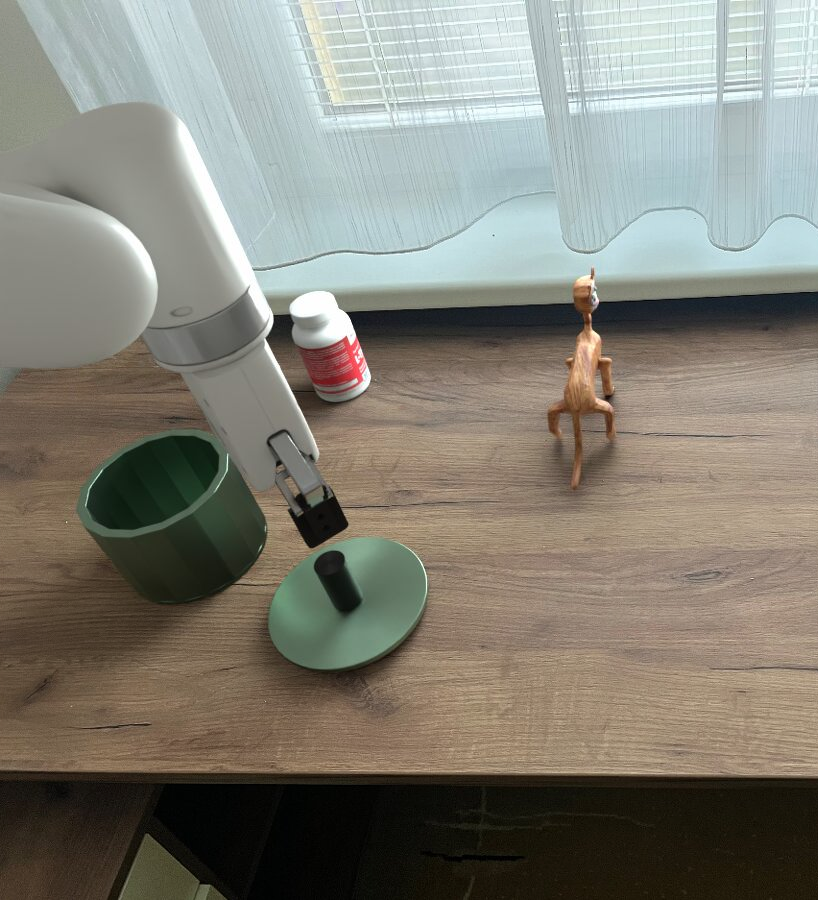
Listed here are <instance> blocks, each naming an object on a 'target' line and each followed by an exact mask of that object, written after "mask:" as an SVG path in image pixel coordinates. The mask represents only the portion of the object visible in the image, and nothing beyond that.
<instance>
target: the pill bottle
mask: <svg viewBox="0 0 818 900" xmlns="http://www.w3.org/2000/svg"><path fill="white" fill-rule="evenodd" d="M288 311H289V312H288V313H289V315H290V317H291V320H292V322H293V326H292V328H291V329H292V330H291V337H292V339H293V342H294V344H295V347H296V349H297V351H298V353H299V356H300V358H301V360H302V362H303V366H304V367H305V370H306V372H307V374H308V376H309V379H310V381H311V384H312V386H313V388H314V390H315V392H316V394H317V396H318V397H320V398H321V399H322V400H324V401H327V402H332V403H338V402H339V403H340V402H346V401H349V400H352V399H354V398H357V397H358V396H359V395H361V394H362V393H364V391H366V390H367V388H368V387H369V385H370V383H371V373H370V369H369V367H368V364H367V361H366V358H365V355H364V353H363V351H362V348H361V345H360V342H359V339H358V337H357V334H356V331H355V329H354V326H353V324H352V323H353V322H352V321H351V319H350V317H349V315H348V314H347V313H346V312H345V311H343V310H342V309H339V306H338V303H337V301H336V299H335V296H334V295H333V294H332V293H331V292H328V291H323V290H317V291H309V292H307V293H304V294H302V295H300V296H298V297H296V298H294V300H293V301H292V302H291V303H290V305H289V307H288Z"/></svg>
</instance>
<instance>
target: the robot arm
mask: <svg viewBox="0 0 818 900" xmlns="http://www.w3.org/2000/svg"><path fill="white" fill-rule="evenodd" d="M273 324H274V314H273V311H272V309H271V307H270V305H269V302H268V301H267V299H266V296H265V295H264V292H263V289H262V288H261V285H260V283H259V281H258V279H257V277H256V275H255V272H254V270H253V268H252V265H251V263H250V261H249V259H248V257H247V254H246V253H245V250H244V248H243V246H242V244H241V242H240V239H239V237H238V235H237V232H236V230H235V228H234V226H233V224H232V222H231V220H230V217H229V215H228V213H227V211H226V208H225V207H224V205H223V202H222V200H221V198H220V195H219V194H218V191H217V189H216V187H215V185H214V183H213V180H212V178H211V176H210V174H209V172H208V170H207V168H206V165H205V162H204V160H203V158H202V156H201V154H200V152H199V150H198V148H197V145H196V143H195V141H194V139H193V137H192V135H191V134H190V131H189V130H188V128H187V126H186V124H185V123H184V122H183V120H181V118H179V116H177V114H175V112H173V111H171V110H170V109H168V108H167V107H165V106H163V105H160V104H156V103H152V102H147V101H129V102H128V101H127V102H119V103H113V104H112V103H111V104H108V105H103V106H100V107H98V108H97V107H96V108H93V109H90V110H87V111H85V112H83V113H79V114H77V115H75V116H74V117H72V118H69V119H68V120H66V121H64V122H63V123H61V124H60V125H58V126H57V127H55V128H54V129H53V130H52V131H51V132H50V133H49V134H48V135H47V136H46V137H44V138H40V139H38V140H35V141H32V142H29V143H26V144H23V145H19V146H17V147H14V148H9V149H7V150H4V151H0V369H34V370H36V369H37V370H38V369H39V370H40V369H41V370H56V369H57V370H58V369H70V368H77V367H82V366H86V365H91V364H95V363H99V362H101V361H104V360H106V359H108V358H111V357H113V356H115V355H116V354H119V353H121V352H122V351H123V350H125V349H127V348H128V347H130V345H131V344H132V343H134V342H135V341H136V340H137V339H138V338H140V339H141V340H142V342H143V344H144V345H145V347H146V348H147V351H148V352H149V353H150V355H151V356H152V358H153V360H154V362H155V363H156V364H157V365H158V366H159V367H160V368H162V369H164V370H168V371H169V372H173V373H179V374H180V375H181V377H182V380H183V381H184V382H185V385H186V386H187V388H188V390H189V391H190V393H191V395H192V397H193V399H194V400H195V402H196V405H198V407H199V409H200V411H201V413H202V414H203V416H204V418H205V419H206V421H207V423H208V425H209V427H210V429H211V431H212V432H213V435H214V436H216V437H217V439H218V440H219V442H220V443H221V445H222V446H223V448H224V449H225V451H226V452H227V454H228V455H229V456H230V458H231V459H232V461H233V462H234V464H235V465H236V466H237V468H238V470H239V472H240V473H241V475H242V477H243V479H244V480H245V481H246V483H248V484H249V486H250V487H251V488H252V489H253V490H255V491H257V492H260V493H265V492H267V491H268V490H269V489H272V488H273V487H275V486H277V488H278V490H279V491H280V493H281V494H282V496H283V498H284V499H285V501H286V502H287V504H288V506H289V507H290V508H288V509H287V510H286V511H287V512H288V514H289V516H290V518H291V519H292V522H293V523H294V525H295V527H296V529H297V531H298V532H299V535H300V536H301V538H302V540H303V542H304V543H305V544H306V546H307V547H308V548H309V549H314V548H316V547H318V546H320V545H322V544H323V543H325V542H327V541H328V540H330V539H332V538H334V537H335V536H337V535H338V534H340V533H342V532H344V531H346V530H347V529H348V527H349V521H348V519H347V517H346V515H345V513H344V511H343V509H342V506H341V504H340V502H339V500H338V498H337V497H336V494H335V492H334V490H333V488H332V487H331V486H330V485H329V484H327V482H326V480H325V479H324V477H323V475H322V473H321V472H320V470H319V469H318V467H317V465H316V464H317V463H318V460H319V457H320V451H319V448H318V445H317V443H316V440H315V438H314V436H313V434H312V432H311V428H310V426H309V425H308V422H307V420H306V418H305V416H304V414H303V412H302V410H301V408H300V406H299V403H298V401H297V399H296V397H295V395H294V393H293V391H292V389H291V387H290V385H289V383H288V381H287V379H286V377H285V375H284V373H283V371H282V368H281V366H280V364H279V363H278V361H277V358H276V357H275V355H274V353H273V351H272V349H271V346H270V345H269V343H268V341H267V339H266V338H267V337H268V336H269V334H270V333H271V331H272V328H273ZM280 466H283V468H284V469H283V470H281V471H279V472H277V468H278V467H280ZM289 478H290V479H291V480H292V482H293V483H294V484H295V486H296V488H297V491H298V492H299V493H298V494H296V495H294V494H293V493H294V492H293V491H292V490H291V488H290V486H289V485H288V484H287V482H286V479H287V480H288V479H289Z"/></svg>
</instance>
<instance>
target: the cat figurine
mask: <svg viewBox="0 0 818 900" xmlns="http://www.w3.org/2000/svg"><path fill="white" fill-rule="evenodd" d="M597 289H598V288H597V286H596V285H595V267H594V266H591V269H590V275H584V276H581V277H579V278H577V279H576V280H575V281H574V283H573V291H572V292H573V293H572V299H573V304H574V308H575V310H577V312H578V313H580V314H582V318H583V321H584V327H583V330H582V331H581V332H580V333H579V334H578V336H577V337H576V339H575V349H574V352H573V357H569V358H566V359H565V360H564V364H565V365H566V367H567V369H568V370H569V373H568V378H567V381H566V383H565V386H564V390H563V399H561V400H558V401H556V402H554V403H552V405H551V406H550V407H549V408H548V409H547V413H546V415H547V416H546V418H547V425H548V430H549V433H550V434H552V435H553V436H554V437H555V438H556V439H557V440H558V441H560V440H561V439H562V435H563V431H562V429H561V428H559V424H560V420H561V415H562V414H568V415H571V418H572V427H573V435H574V461H573V469H572V475H571V480H570V489H571V490H572V491H576V490H577V489H578V487H579V484H580V477H581V473H582V466H583V465H582V464H583V451H584V450H583V443H584V441H583V428H582V427H583V426H582V420H581V418H582V416H586V415H597V414H601V415H603V417H604V423H605V436H606V438H607V440H609V441H612V440H613V439H614V438H616V436H617V430H616V428H615V417H616V413H615V409H614V407H613V406H612V405H611V404H610V403H609V402H608V401H607V400H604V399H601V398H599V397H597V396H596V395H595V394H596V392H595V382H596V375H597V373H598V371H599V372H600V377H601V386H602V393H603V394H604V396H611V395H613V394H614V392H615V389H616V388H615V386H614V385H613V382H612V381H613V380H612V368H611V365H612V363H613V361H612V359H611V358H609V357H602V352H601V351H602V338H601V336H600V335H599V334H598V333H597V332H595V331H594V330H593V327H592V315H591V314H592V313H594V311H596V310H597V308H598V307H599V306H598V305H599V302H600V300H599V298H598V294H597V292H596V291H597Z"/></svg>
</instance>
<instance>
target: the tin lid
mask: <svg viewBox="0 0 818 900" xmlns="http://www.w3.org/2000/svg"><path fill="white" fill-rule="evenodd" d="M429 588H430V586H429V579H428V575H427V572H426V569H425V566H424V565H423V563H422V561H421V560H420V558H419V557H418V556H417V554H415V553H414V551H412V550H411V549H410V548H409V547H407V546H406V545H404V544H402V543H400V542H398V541H395V540H392V539H389V538H384V537H376V536H361V537H353V538H348V539H343V540H341V541H338V542H335V543H332V544H330V545H327V546H325V547H322V548H321V549H319V550H317V551H315V552H314V553H312V554H310V555H308V556H307V557H305V558H304V559H303V560H302V561H301V562H299V563H298V564H297V565H296V566H295V567H293V569H292V570H291V571H290V572H289V573H288V574H287V575H286V576H285V578H284V579H283V580H282V582H281V583H280V584H279V586H278V587H277V589H276V592H274V595H273V596H272V600H271V602H270V605H269V610H268V617H267V625H268V626H267V627H268V632H269V635H270V636H269V637H270V639H271V641H272V643H273V646H274V647H275V649H276V650H277V652H279V654H280V655H281V656H282V657H283V658H284V659H285V660H286V661H288V662H289V663H291V664H292V665H294V666H295V667H297V668H300V669H302V670H305V671H309V672H313V673H322V674H334V673H344V672H348V671H353V670H357V669H359V668H362V667H366V666H368V665H370V664H372V663H373V662H377V661H378V660H380V659H382V658H383V657H385V656H387V655H388V654H390V653H391V652H392V651H394V650H395V649H396V648H397V647H399V646H400V645H401V644H402V643H403V642H404V641H405V640H407V638H408V637H409V636H410V635H411V633H412V632H413V631H414V630H415V628H416V627H417V625H418V624H419V623H420V620H421V619H422V616H423V614H424V612H425V610H426V606H427V603H428V600H429V590H430V589H429Z"/></svg>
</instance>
